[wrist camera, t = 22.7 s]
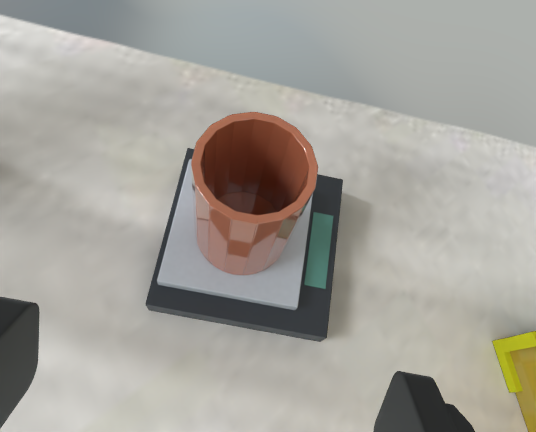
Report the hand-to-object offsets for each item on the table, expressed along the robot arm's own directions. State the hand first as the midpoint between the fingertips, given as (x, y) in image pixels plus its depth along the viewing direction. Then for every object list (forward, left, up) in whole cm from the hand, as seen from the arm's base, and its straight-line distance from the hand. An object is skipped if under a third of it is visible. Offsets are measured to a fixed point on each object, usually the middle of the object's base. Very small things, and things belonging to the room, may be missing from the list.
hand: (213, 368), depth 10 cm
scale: (+1, +12, -24) cm, 26 cm away
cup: (0, +12, -21) cm, 24 cm away
